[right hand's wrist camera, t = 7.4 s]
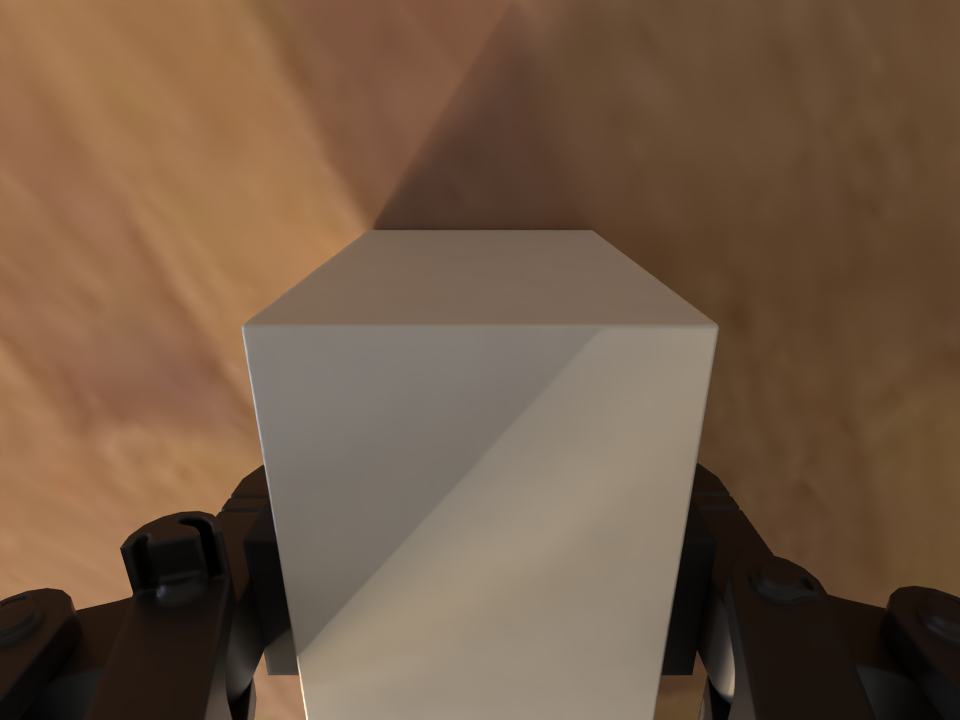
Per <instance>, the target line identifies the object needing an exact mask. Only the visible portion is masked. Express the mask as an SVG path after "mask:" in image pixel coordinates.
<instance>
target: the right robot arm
mask: <svg viewBox="0 0 960 720" xmlns="http://www.w3.org/2000/svg"><path fill="white" fill-rule="evenodd" d="M120 550H121V553H122V557H123V560H124V563H125V567H126V570H127V574H128V577H129V580H130V584H131V587H132V590H133V596H132V597H130V598H126V599H123V600H120V601H116V602H111V603H107V604H103V605H98V606H94V607H89V608H85V609H81V610H76V611H75V608H74V605H73V602H72V599H71V597H70V596H69V595H68V594H66V593H65V592H64V591H63V590H58V589H50V588H44V589H38V590H31V591H26V592H23V593H20V594H17V595H15V596H11V597H9V598H6V599H4V600H2V601H0V720H254V718H255V708H256V691H255V685H254V680H253V675H254V672H255V670H256V668H257V665H258V663H259V661H260V658H261V656H262V654H263V651H264V655H265V660H266V666H267V671H268V675H299V671H298V665H297V659H296V653H295V647H294V641H293V635H292V628H291V622H290V616H289V610H288V604H287V598H286V592H285V586H284V580H283V574H282V568H281V562H280V556H279V550H278V544H277V538H276V532H275V526H274V520H273V514H272V508H271V502H270V496H269V490H268V484H267V478H266V472H265V466H264V465H262V466H260V467H259V468H258V469H256V470H255V471H253V472H252V473H251V474H249V475H248V476H246V477H245V478H243V479H242V481H241V482H240V484H239V485H238V486H237V488H236V489H235V491H234V492H233V493H232V495H231V498H229V499H228V500H227V502H226V503H225V505H224V506H223V507H222V511H221V512H219V513H218V515H217V516H216V517H215V516H214V515H213V514H209V513H205V512H200V511H191V512H179V513H176V514H172V515H168V516H164V517H161V518H159V519H157V520H154V521H152V522H150V523H148V524H146V525H144V526H142V527H141V528H140V529H138V530H137V531H135V532H134V533H133V534H131V535H130V536H129V537H128V538H127V540H126V541H125V542H124V543H123V545H122V546H121V547H120ZM697 650H698V652H699V655H700V657H701V659H702V662H703V664H704V666H705V669H706V671H707V673H708V675H707V680H706V685H705V689H704V694H703V699H702V704H701V709H700V713H699V718H698V720H960V598H958V597H956V596H953V595H951V594H948V593H945V592H942V591H939V590H936V589H932V588H925V587H919V586H909V587H902V588H898V589H897V590H896V591H895V592H893V593H892V594H891V595H890V598H889V601H888V604H887V606H886V609H885V608H881V607H877V606H872V605H868V604H863V603H859V602H855V601H850V600H846V599H842V598H838V597H835V596H832V595H828V594H827V593H826V591H825V590H824V588H823V587H822V585H821V584H820V582H819V581H818V580H817V579H816V578H815V577H814V576H813V575H811V574H810V573H809V572H808V571H807V570H805V569H804V568H802V567H800V566H798V565H796V564H794V563H793V562H791V561H789V560H787V559H783V558H780V557H776V556H774V555H773V553H772V552H771V551H770V549H769V548H768V546H767V545H766V544H765V542H764V541H763V540H762V538H761V537H760V535H759V534H758V533H757V531H756V530H755V528H754V527H753V526H752V524H751V523H750V521H749V520H748V519H747V517H746V516H745V514H744V513H743V512H742V510H739V506H738V505H737V503H736V502H735V500H734V499H733V498H732V497H730V495H729V492H728V491H727V489H726V488H725V486H724V485H723V484H722V482H721V481H720V479H719V478H718V477H717V476H715V475H714V474H713V473H711V472H710V471H708V470H707V469H705V468H704V467H703V466H701V465H700V464H698V463H696V469H695V475H694V481H693V487H692V493H691V499H690V505H689V511H688V517H687V523H686V529H685V535H684V541H683V547H682V553H681V559H680V565H679V571H678V577H677V583H676V589H675V595H674V601H673V607H672V613H671V619H670V625H669V631H668V637H667V643H666V649H665V655H664V661H663V667H662V673H661V675H692V673H693V667H694V662H695V657H696V652H697Z"/></svg>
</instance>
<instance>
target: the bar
mask: <svg viewBox="0 0 960 720" xmlns="http://www.w3.org/2000/svg"><path fill="white" fill-rule="evenodd" d="M718 331H719V327H718V325H717V324H716V323H715V322H713V321H712V320H711V319H709V318H708V317H707V316H705V315H704V314H703V313H701V312H700V311H699V310H697V309H696V308H695V307H694V306H692V305H691V304H690V303H688V302H687V301H686V300H684V299H683V298H682V297H680V296H679V295H678V294H676V293H675V292H674V291H672V290H671V289H670V288H668V287H667V286H666V285H664V284H663V283H662V282H660V281H659V280H658V279H656V278H655V277H654V276H652V275H651V274H650V273H648V272H647V271H646V270H644V269H643V268H642V267H641V266H639V265H638V264H637V263H635V262H634V261H633V260H631V259H630V258H629V257H627V256H626V255H625V254H623V253H622V252H621V251H619V250H618V249H617V248H615V247H614V246H613V245H611V244H610V243H609V242H607V241H606V240H605V239H603V238H602V237H601V236H599V235H598V234H597V233H595V232H594V231H593V230H368V231H366V232H365V233H364V234H362V235H361V236H360V237H358V238H357V239H356V240H354V241H353V242H352V243H350V244H349V245H348V246H346V247H345V248H344V249H342V250H341V251H340V252H338V253H337V254H336V255H334V256H333V257H332V258H331V259H329V260H328V261H327V262H325V263H324V264H323V265H321V266H320V267H319V268H317V269H316V270H315V271H313V272H312V273H311V274H309V275H308V276H307V277H305V278H304V279H303V280H301V281H300V282H299V283H297V284H296V285H295V286H293V287H292V288H291V289H289V290H288V291H287V292H285V293H284V294H283V295H281V296H280V297H279V298H278V299H276V300H275V301H274V302H272V303H271V304H270V305H268V306H267V307H266V308H264V309H263V310H262V311H260V312H259V313H258V314H256V315H255V316H254V317H252V318H251V319H250V320H248V321H247V322H246V323H244V324H243V325H242V334H243V340H244V346H245V352H246V358H247V364H248V370H249V376H250V382H251V388H252V394H253V400H254V406H255V412H256V418H257V424H258V430H259V436H260V442H261V448H262V454H263V460H264V466H265V472H266V478H267V484H268V490H269V496H270V502H271V508H272V514H273V520H274V526H275V532H276V538H277V544H278V550H279V556H280V562H281V568H282V574H283V580H284V586H285V592H286V598H287V604H288V610H289V616H290V622H291V628H292V635H293V641H294V647H295V653H296V659H297V665H298V671H299V677H300V683H301V689H302V695H303V701H304V707H305V713H306V719H307V720H654V715H655V709H656V703H657V697H658V691H659V685H660V679H661V673H662V667H663V661H664V655H665V649H666V643H667V637H668V631H669V625H670V619H671V613H672V607H673V601H674V595H675V589H676V583H677V577H678V571H679V565H680V559H681V553H682V547H683V541H684V535H685V529H686V523H687V517H688V511H689V505H690V499H691V493H692V487H693V481H694V475H695V469H696V463H697V457H698V451H699V445H700V439H701V433H702V427H703V421H704V415H705V409H706V403H707V397H708V391H709V385H710V379H711V373H712V367H713V361H714V355H715V349H716V343H717V337H718Z"/></svg>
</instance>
